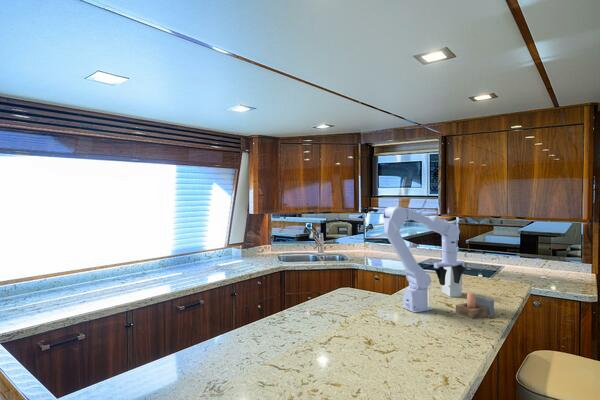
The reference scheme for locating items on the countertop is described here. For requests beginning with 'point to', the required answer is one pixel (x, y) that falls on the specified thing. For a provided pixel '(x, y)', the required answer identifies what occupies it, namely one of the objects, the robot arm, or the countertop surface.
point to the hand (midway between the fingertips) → (449, 283)
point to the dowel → (471, 300)
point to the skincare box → (451, 284)
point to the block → (471, 311)
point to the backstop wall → (486, 304)
